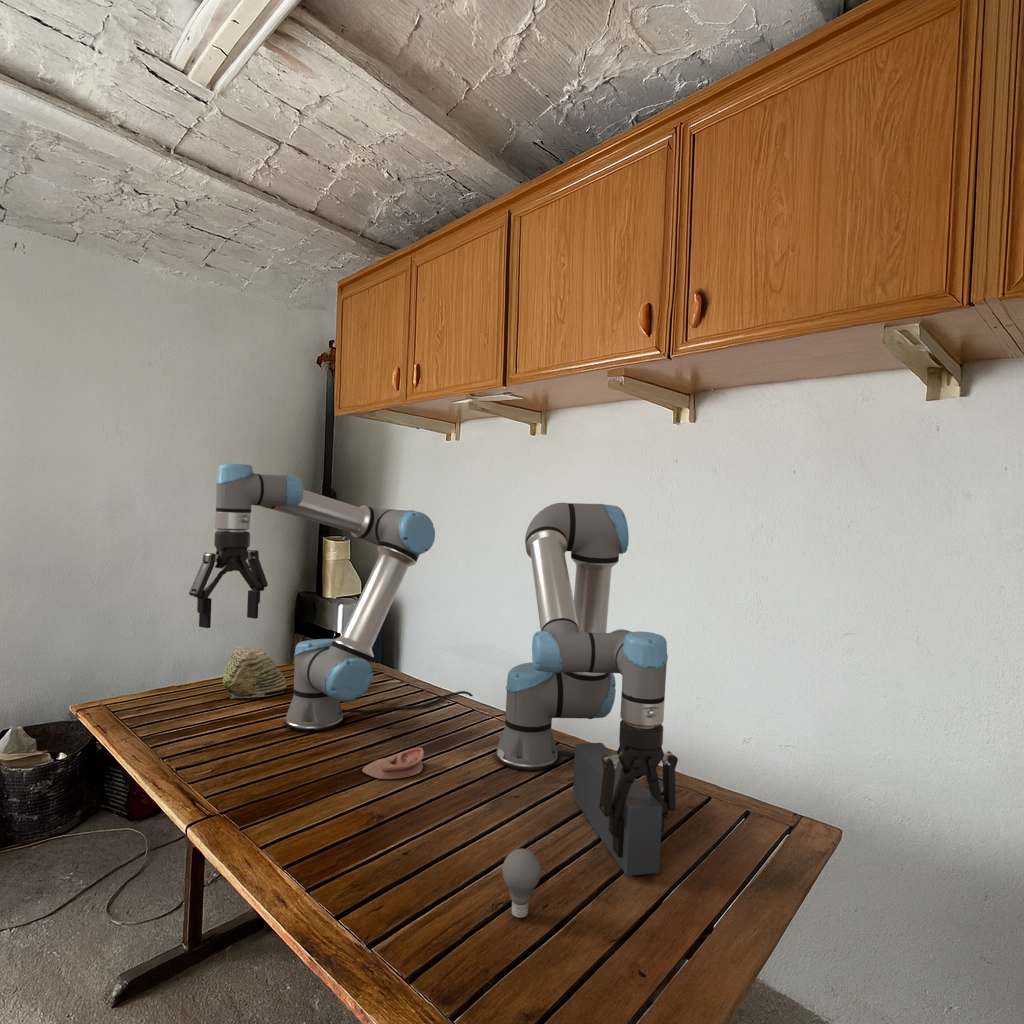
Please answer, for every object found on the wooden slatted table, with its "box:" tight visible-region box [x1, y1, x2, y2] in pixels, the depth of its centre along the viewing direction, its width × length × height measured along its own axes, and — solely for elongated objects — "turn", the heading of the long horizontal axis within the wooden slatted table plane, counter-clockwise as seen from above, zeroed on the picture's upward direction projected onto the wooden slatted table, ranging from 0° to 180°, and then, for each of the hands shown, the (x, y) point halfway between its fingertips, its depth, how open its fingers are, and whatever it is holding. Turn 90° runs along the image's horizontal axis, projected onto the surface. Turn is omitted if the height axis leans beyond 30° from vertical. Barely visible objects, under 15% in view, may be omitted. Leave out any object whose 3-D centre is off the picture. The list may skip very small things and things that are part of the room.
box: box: [572, 742, 662, 877], centre depth 123 cm, size 29×6×12 cm, turn 13°
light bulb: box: [502, 848, 542, 919], centre depth 98 cm, size 6×6×10 cm
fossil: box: [222, 646, 288, 699], centre depth 198 cm, size 9×18×15 cm, turn 132°
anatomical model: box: [361, 747, 425, 780], centre depth 148 cm, size 13×4×12 cm
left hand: (229, 622), depth 146 cm, fingers open, 13 cm apart
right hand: (635, 850), depth 112 cm, fingers open, 6 cm apart
